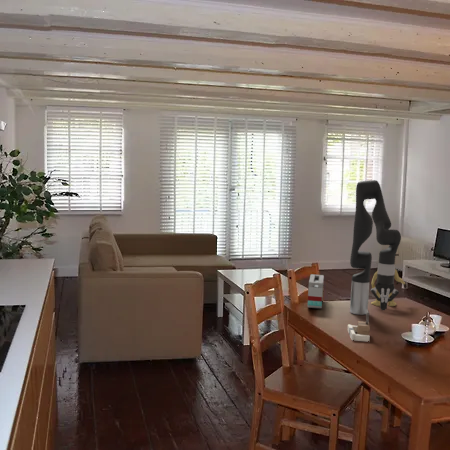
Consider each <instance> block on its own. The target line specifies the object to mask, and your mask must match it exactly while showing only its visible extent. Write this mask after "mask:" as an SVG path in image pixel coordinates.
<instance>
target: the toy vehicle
mask: <svg viewBox="0 0 450 450" xmlns="http://www.w3.org/2000/svg"><path fill="white" fill-rule="evenodd" d="M324 279H325V276H324V274H312V273H311V274H310V276H309V280H308V291H307V292H308V293H307V306H306V307H307V308H310V309H311V308H312V309H323V299H324V298H323V297H324V296H323V295H324V287H325V285H324Z"/></svg>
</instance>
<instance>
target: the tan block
mask: <svg viewBox="0 0 450 450" xmlns="http://www.w3.org/2000/svg"><path fill="white" fill-rule="evenodd" d="M369 319H370V311H369V310H367V311H366V314H365V321H362V320H361V321H359V320H357V324H356V326H357V332H356V334H359V335H369V336H370V329H371V328H370V322H369Z"/></svg>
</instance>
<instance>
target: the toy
mask: <svg viewBox="0 0 450 450" xmlns="http://www.w3.org/2000/svg"><path fill="white" fill-rule="evenodd" d="M397 256H398V257H400V256H399V253H396V255H395V257H397ZM377 271H378V269H377ZM377 271H375V273H374V274H373V277H372V279H371V283H370V285H371V289H373V288H375V285H376V284H375V283H376V281H377ZM394 281H396V282H395V285H398V284H400V283H401V284H402V285H403V288H404V289H407V283H406V281H404V280H403V278H401V277H400V276H399V273H398V270H397V269H396V268H395V275H394ZM376 294H377V296H378V297H379V298H380V294H379V292H378V291H377V289H376ZM392 294H393V291H392V292H391V293H390V294H389V297H390V296H391V295H392ZM389 297H388V298H389ZM370 304H371V305H374V306H376V307H380V301H378V300H377V299H376V298H375V300H374V301H371V302H370ZM388 306H389V307H394V306H397V303H396V302H395V300H394V299H393V300H392V301H391V302H390V301H389V302H388V303H387V307H388Z"/></svg>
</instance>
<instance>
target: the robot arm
mask: <svg viewBox="0 0 450 450" xmlns="http://www.w3.org/2000/svg"><path fill="white" fill-rule="evenodd" d="M367 200H375V204H374V206H373V210H372V212H371V215H372V216H371V215H370V213H369V212H368V210H367V209H366V207H365V201H367ZM373 223H374V224H373ZM374 225H375V231H376V241H377V243H378V244H379V245H381V246H388V247H387V248H385V249H382V250H380V251H379V252H378V255H379V256H378V265H377V270H378V271H376V272H377V279H376V282H375V283H376V284H374V285H375V288H373V289H372V288H371V289H370V284H371V283H370V281H371V280H370V278H371V268H372V261H373V256H372V255H373V254H372V252H370V251H361V250H360V248H361V246H362V245H363V244H364V243H365V242H366V241H367V240H368V239H369V238H370V237H371V236H372V233H373V227H374ZM391 227H392V221H391V219H390V216H389V214H388V211H387V209H386V205H385V200H384V196H383V191H382V188H381V184H380V182H379V181H378V180H375V179H373V180H372V179H371V180H361V181H358V182H357V183H356V187H355V214H354V221H353V237H352V246H351V253H350V258H349V259H350V260H349V263H350V264H349V265H350V267H351V268H353V269H359V270H360V269H361V270H362V269H363V271H360V272H358V273H355V274H353V275H352V276H351V287H350V289H351V290H350V304H349V312H350V314H353V315H359V316H360V315H361V316H363V315H365V316H366V311H367V310H368V309H369V296H370V295H369V294H370V292H371V293H372V295H373V296H374V298H375V300H376V299H377V300H378V301H380V306H379V308H380V310H381V311H386V310H387V309H388V302H389V301H390V302H391V301H392V300H394V299H395V298H396V297H397V296H398V295H399V294H400V292H399V291H398V289H396V287H395V278H394V275H395V269H396V265H395V264H396V256H395V255H396V254H397V252H398V248H399V246H400V243H401V240H402V236H401V233H400V231H399V230H398V229H390V228H391ZM376 290H377V291H378V292H379V294H380V298H379V297H378V296H377V291H376ZM391 292H392V295H391V296H390V297H389V294H390V293H391ZM368 311H369V310H368Z"/></svg>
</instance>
